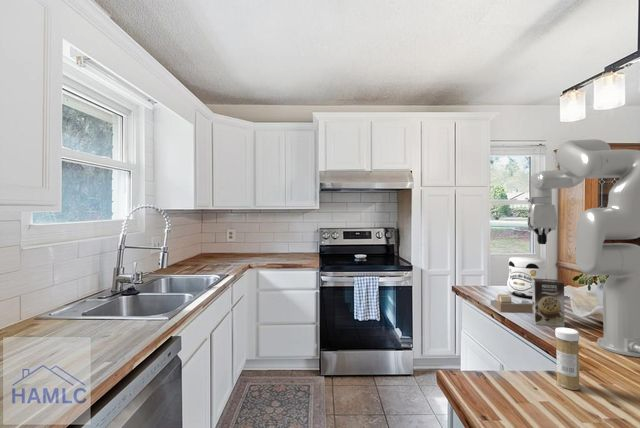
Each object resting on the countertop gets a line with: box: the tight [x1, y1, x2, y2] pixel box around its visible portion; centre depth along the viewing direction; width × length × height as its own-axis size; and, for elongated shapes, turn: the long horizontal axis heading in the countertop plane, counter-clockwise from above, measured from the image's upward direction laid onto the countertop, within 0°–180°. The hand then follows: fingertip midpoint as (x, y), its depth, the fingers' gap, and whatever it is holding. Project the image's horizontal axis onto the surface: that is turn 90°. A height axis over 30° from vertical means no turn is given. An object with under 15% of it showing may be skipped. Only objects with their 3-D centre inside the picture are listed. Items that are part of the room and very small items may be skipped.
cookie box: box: [531, 278, 565, 328], centre depth 123 cm, size 9×6×16 cm
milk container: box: [506, 256, 547, 299], centre depth 163 cm, size 17×17×18 cm
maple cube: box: [496, 293, 512, 304], centre depth 141 cm, size 4×4×4 cm
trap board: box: [490, 299, 532, 314], centre depth 141 cm, size 11×15×4 cm
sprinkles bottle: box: [554, 326, 581, 391], centre depth 80 cm, size 5×5×14 cm
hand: (542, 243), depth 144 cm, fingers closed
